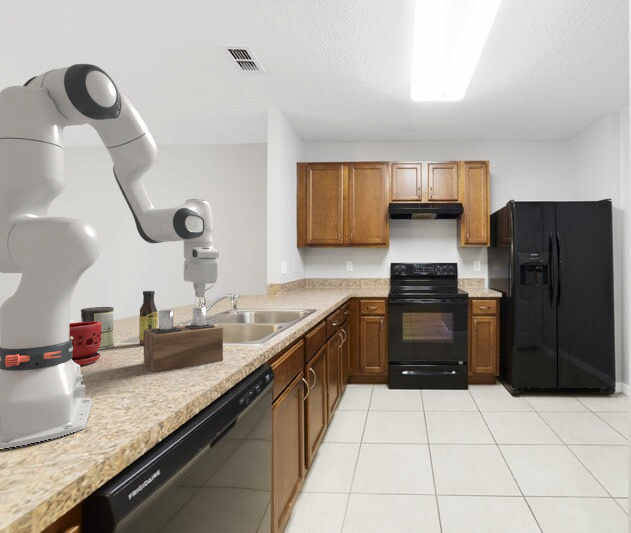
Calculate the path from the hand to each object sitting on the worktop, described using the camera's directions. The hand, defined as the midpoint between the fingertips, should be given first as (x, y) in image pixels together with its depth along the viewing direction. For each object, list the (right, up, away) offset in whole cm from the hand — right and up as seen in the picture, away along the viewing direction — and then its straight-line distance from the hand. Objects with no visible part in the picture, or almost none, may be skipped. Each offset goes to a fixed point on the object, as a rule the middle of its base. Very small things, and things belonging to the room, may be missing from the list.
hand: (199, 297), depth 118 cm
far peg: (0, -14, 0) cm, 14 cm away
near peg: (-8, -14, -6) cm, 17 cm away
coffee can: (-42, -20, +18) cm, 50 cm away
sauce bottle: (-26, -20, +24) cm, 41 cm away
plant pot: (-36, -20, -3) cm, 41 cm away
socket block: (-4, -19, -3) cm, 20 cm away
